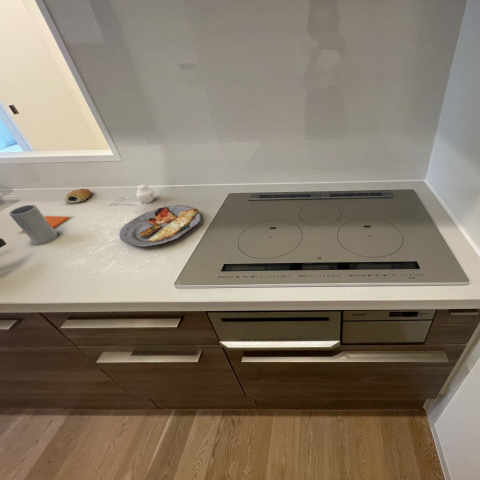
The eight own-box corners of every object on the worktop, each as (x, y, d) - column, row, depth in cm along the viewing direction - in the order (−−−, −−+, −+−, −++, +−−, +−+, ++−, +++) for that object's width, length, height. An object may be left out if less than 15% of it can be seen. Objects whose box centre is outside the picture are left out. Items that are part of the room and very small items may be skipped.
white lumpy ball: (136, 202, 106) (129, 186, 102) (151, 196, 110) (144, 180, 106) (145, 206, 104) (137, 189, 99) (160, 199, 108) (153, 183, 104)
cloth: (23, 231, 91) (22, 230, 90) (46, 217, 98) (45, 216, 98) (47, 232, 90) (46, 230, 90) (69, 218, 98) (68, 216, 97)
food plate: (166, 205, 104) (163, 197, 101) (215, 215, 97) (213, 207, 95) (106, 242, 85) (100, 233, 83) (162, 257, 78) (158, 248, 76)
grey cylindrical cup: (28, 243, 85) (3, 214, 79) (45, 232, 90) (22, 204, 83) (46, 244, 85) (22, 215, 78) (62, 233, 90) (40, 204, 83)
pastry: (79, 193, 113) (74, 185, 111) (96, 192, 114) (91, 184, 112) (66, 204, 106) (60, 195, 104) (84, 203, 107) (78, 194, 104)
